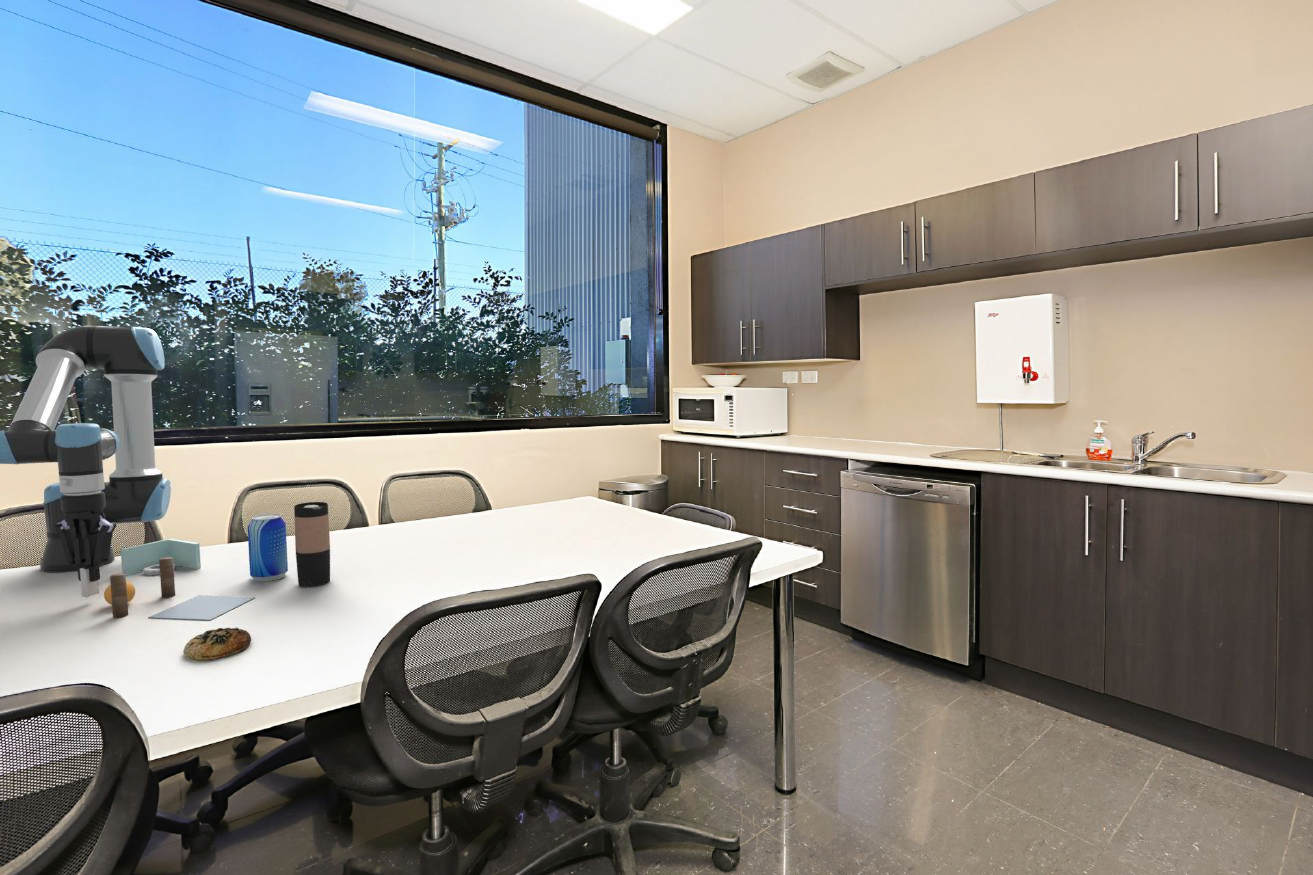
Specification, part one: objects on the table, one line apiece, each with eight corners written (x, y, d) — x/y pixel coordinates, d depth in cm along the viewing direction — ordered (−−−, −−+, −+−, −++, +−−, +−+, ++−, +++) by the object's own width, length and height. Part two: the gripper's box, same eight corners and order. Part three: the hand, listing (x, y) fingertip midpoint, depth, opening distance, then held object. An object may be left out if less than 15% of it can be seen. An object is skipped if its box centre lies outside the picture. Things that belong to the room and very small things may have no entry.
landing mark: (148, 617, 139) (148, 617, 139) (198, 595, 153) (198, 595, 153) (210, 620, 138) (210, 619, 138) (255, 598, 152) (255, 597, 152)
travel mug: (305, 578, 167) (302, 501, 165) (336, 577, 168) (333, 501, 166) (291, 588, 159) (287, 508, 158) (323, 587, 160) (320, 507, 158)
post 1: (109, 617, 139) (106, 576, 138) (120, 613, 142) (117, 573, 141) (121, 617, 139) (118, 577, 138) (131, 613, 142) (128, 573, 141)
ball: (122, 590, 143) (115, 612, 144) (144, 583, 149) (137, 604, 149) (101, 580, 144) (94, 603, 144) (124, 573, 149) (117, 595, 150)
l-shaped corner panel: (122, 577, 168) (120, 549, 167) (171, 565, 179) (170, 538, 179) (152, 583, 164) (150, 554, 163) (200, 570, 175) (199, 543, 174)
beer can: (270, 583, 163) (267, 520, 161) (242, 581, 164) (238, 519, 163) (295, 573, 171) (292, 513, 169) (268, 571, 173) (265, 512, 171)
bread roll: (264, 637, 130) (260, 614, 129) (230, 669, 119) (225, 645, 118) (208, 639, 130) (203, 616, 129) (169, 671, 119) (163, 647, 118)
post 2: (158, 597, 152) (156, 560, 151) (167, 593, 154) (165, 556, 154) (169, 597, 152) (166, 560, 151) (178, 594, 154) (175, 557, 153)
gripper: (38, 494, 142) (47, 599, 144) (94, 496, 141) (102, 601, 143) (72, 488, 149) (79, 588, 152) (125, 490, 148) (131, 590, 151)
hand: (90, 594), depth 147 cm, fingers closed
